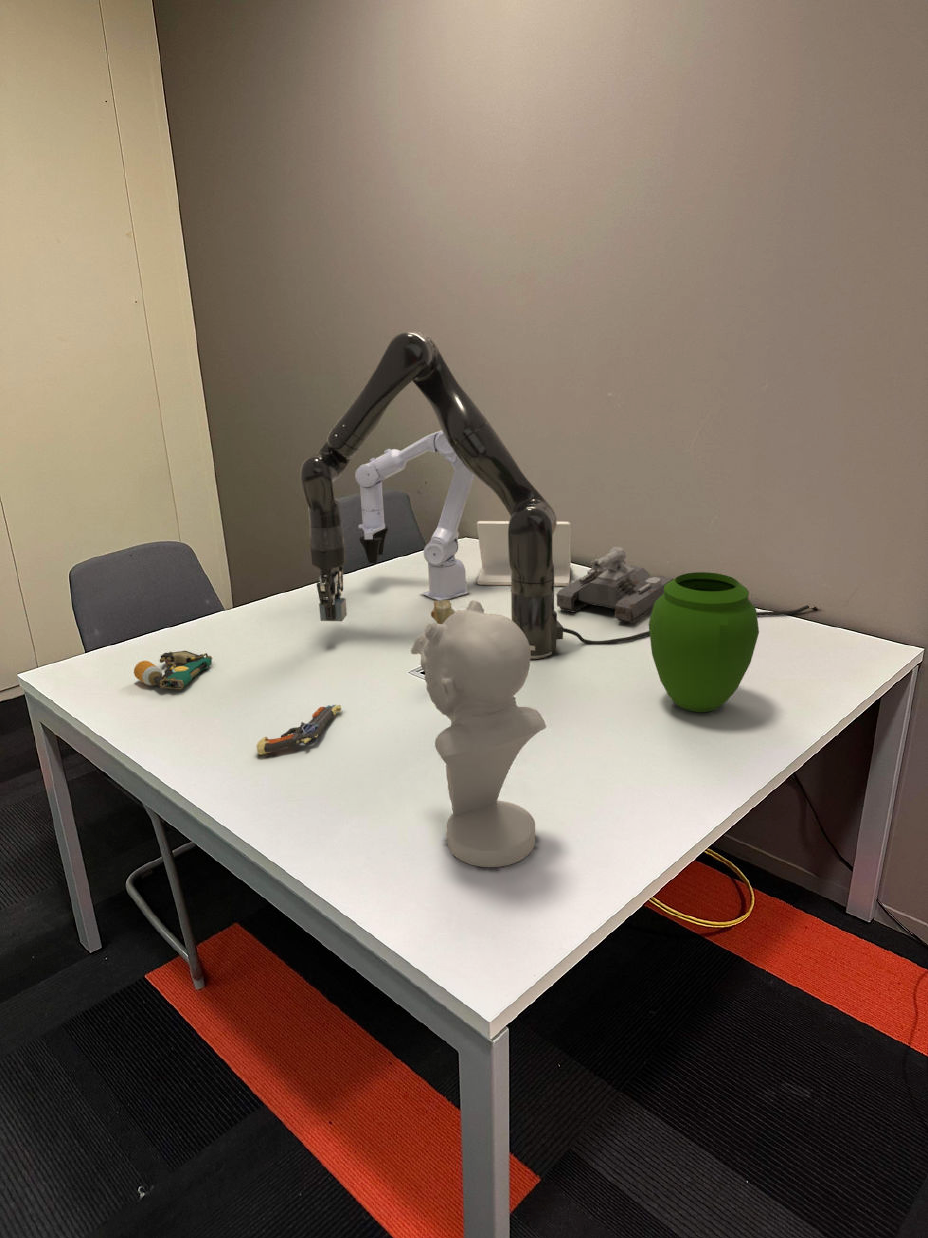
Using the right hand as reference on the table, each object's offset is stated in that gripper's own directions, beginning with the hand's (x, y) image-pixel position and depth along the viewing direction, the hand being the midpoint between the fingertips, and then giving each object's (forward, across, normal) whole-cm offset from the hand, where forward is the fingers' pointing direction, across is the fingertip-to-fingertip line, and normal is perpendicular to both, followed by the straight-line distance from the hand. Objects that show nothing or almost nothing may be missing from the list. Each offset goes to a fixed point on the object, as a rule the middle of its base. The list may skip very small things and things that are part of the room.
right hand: (333, 616), depth 195 cm
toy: (+6, -27, +65) cm, 71 cm away
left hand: (-3, -37, +2) cm, 37 cm away
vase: (+6, +28, +78) cm, 83 cm away
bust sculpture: (+6, +73, +40) cm, 83 cm away
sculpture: (+6, +16, +28) cm, 32 cm away
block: (0, 0, 0) cm, 0 cm away
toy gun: (+6, +45, +5) cm, 46 cm away
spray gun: (+6, +22, -29) cm, 36 cm away
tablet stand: (+6, -50, +41) cm, 65 cm away
